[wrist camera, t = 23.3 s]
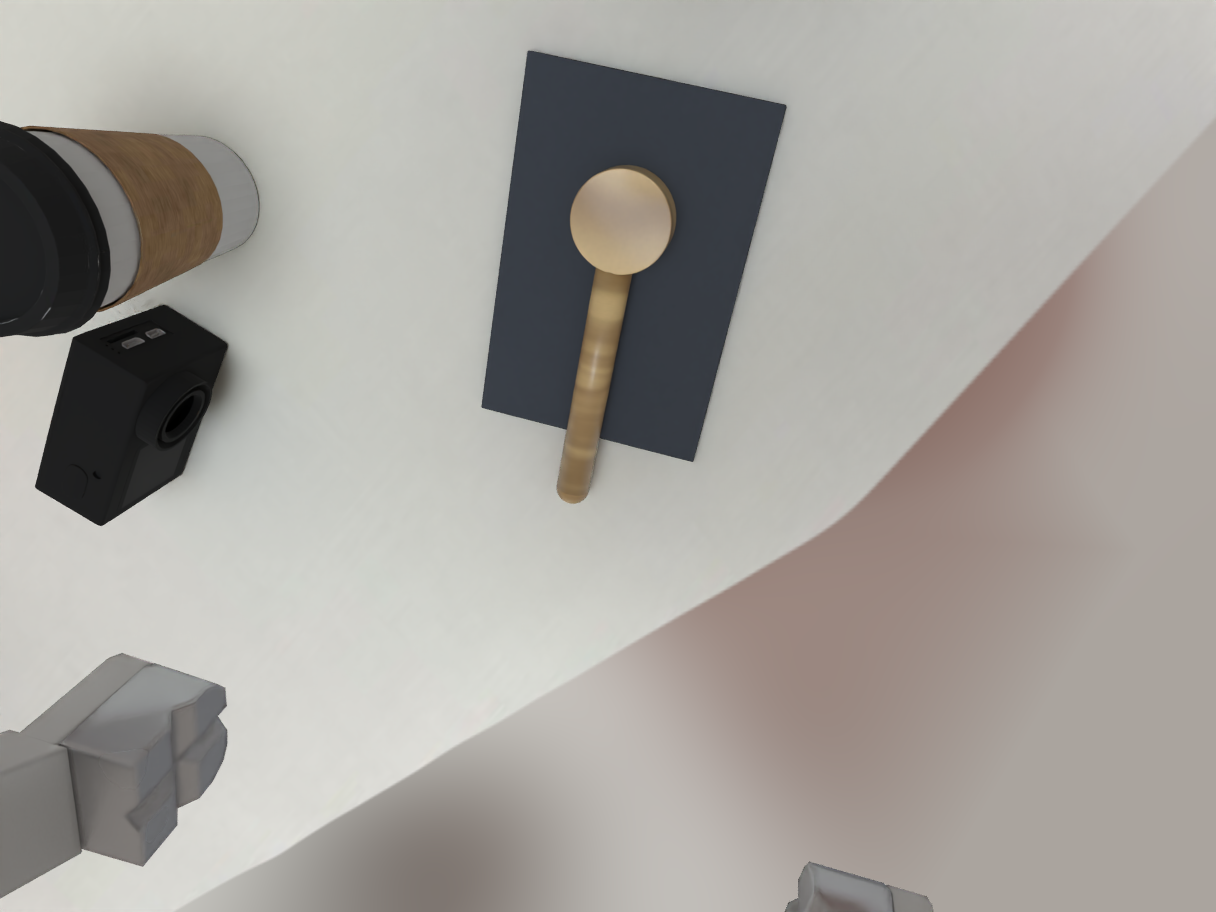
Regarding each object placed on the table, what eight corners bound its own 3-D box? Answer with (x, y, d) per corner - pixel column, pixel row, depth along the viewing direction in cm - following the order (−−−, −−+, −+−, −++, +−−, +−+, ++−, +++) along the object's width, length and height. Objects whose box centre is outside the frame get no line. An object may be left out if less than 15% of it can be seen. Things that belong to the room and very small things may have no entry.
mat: (693, 458, 45) (693, 462, 44) (484, 404, 46) (481, 407, 45) (786, 105, 37) (786, 105, 36) (530, 50, 38) (527, 50, 38)
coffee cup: (110, 132, 44) (-189, 155, 30) (243, 89, 41) (-18, 93, 28) (178, 287, 47) (-67, 370, 33) (305, 255, 44) (98, 330, 31)
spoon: (615, 504, 46) (608, 520, 45) (533, 483, 47) (524, 497, 45) (686, 176, 38) (682, 181, 37) (587, 155, 39) (578, 158, 37)
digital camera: (198, 486, 52) (118, 541, 46) (122, 440, 52) (31, 490, 46) (247, 354, 48) (166, 395, 41) (165, 303, 47) (70, 337, 41)
